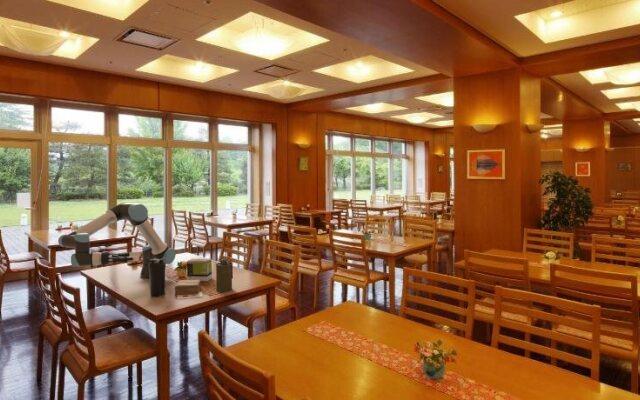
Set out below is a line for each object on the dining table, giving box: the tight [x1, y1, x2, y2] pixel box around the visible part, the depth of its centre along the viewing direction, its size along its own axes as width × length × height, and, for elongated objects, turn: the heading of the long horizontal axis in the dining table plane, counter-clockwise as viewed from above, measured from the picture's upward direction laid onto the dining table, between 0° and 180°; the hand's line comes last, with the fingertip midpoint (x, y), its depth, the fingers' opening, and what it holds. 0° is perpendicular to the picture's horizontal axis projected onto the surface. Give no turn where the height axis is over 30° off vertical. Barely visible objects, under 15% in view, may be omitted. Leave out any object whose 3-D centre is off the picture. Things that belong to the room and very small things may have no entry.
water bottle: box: [148, 259, 167, 298], centre depth 250 cm, size 10×10×23 cm
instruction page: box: [176, 291, 203, 300], centre depth 250 cm, size 10×15×1 cm, turn 109°
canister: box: [215, 258, 234, 293], centre depth 262 cm, size 11×10×20 cm
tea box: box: [186, 258, 213, 282], centre depth 286 cm, size 15×10×15 cm
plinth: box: [174, 279, 202, 297], centre depth 257 cm, size 14×14×6 cm
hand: (140, 255), depth 246 cm, fingers open, 13 cm apart
